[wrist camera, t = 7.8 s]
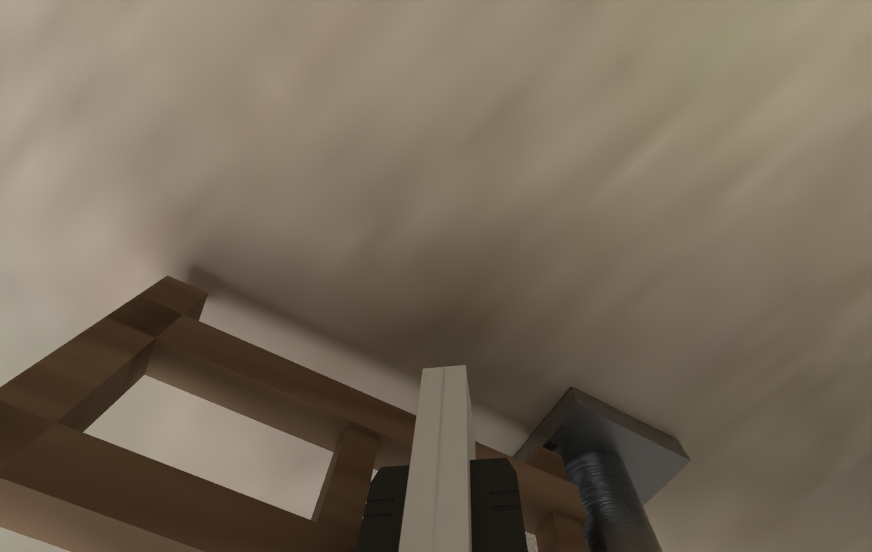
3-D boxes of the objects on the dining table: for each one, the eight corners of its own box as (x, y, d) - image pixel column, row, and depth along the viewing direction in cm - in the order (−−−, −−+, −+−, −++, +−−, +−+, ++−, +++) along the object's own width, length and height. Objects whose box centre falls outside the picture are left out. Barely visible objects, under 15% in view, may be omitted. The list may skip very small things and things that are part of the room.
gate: (167, 275, 17) (-88, 445, 9) (567, 454, 20) (642, 709, 12) (157, 308, 18) (-90, 496, 10) (547, 477, 20) (606, 736, 12)
